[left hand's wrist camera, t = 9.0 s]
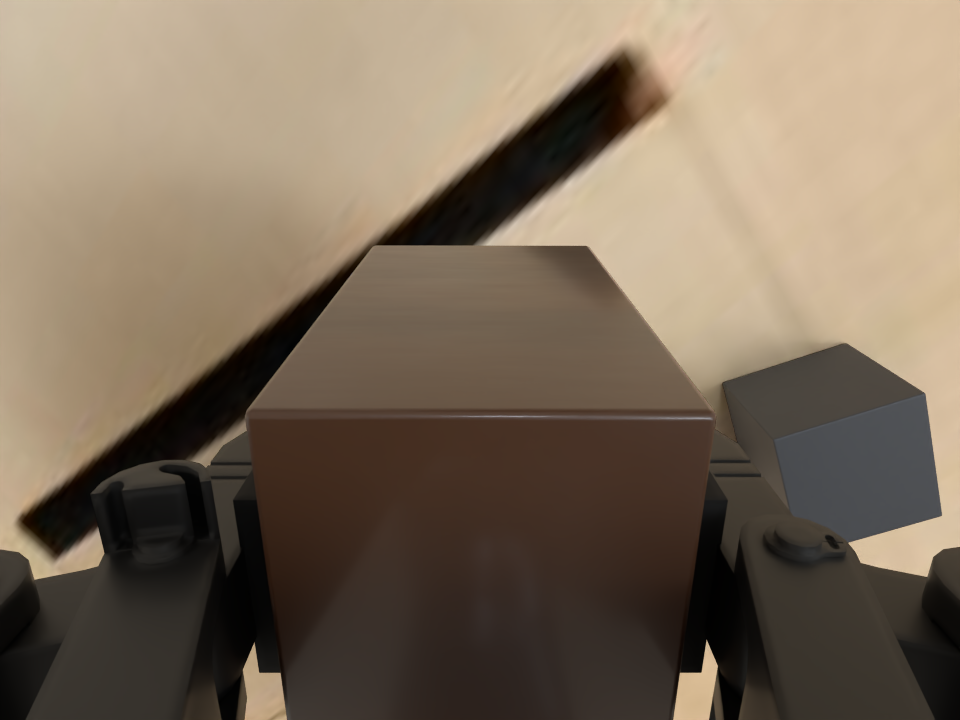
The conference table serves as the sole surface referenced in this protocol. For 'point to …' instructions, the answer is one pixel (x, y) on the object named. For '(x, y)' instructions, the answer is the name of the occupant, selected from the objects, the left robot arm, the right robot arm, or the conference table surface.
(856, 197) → the conference table surface
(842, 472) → the charcoal cube
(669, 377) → the walnut bar
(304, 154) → the conference table surface
